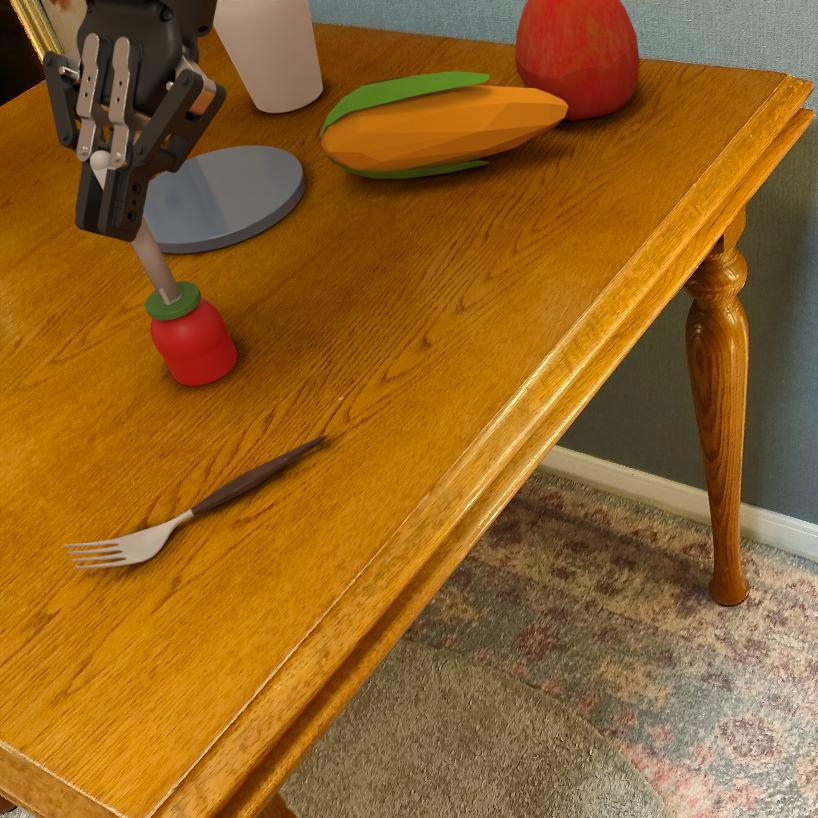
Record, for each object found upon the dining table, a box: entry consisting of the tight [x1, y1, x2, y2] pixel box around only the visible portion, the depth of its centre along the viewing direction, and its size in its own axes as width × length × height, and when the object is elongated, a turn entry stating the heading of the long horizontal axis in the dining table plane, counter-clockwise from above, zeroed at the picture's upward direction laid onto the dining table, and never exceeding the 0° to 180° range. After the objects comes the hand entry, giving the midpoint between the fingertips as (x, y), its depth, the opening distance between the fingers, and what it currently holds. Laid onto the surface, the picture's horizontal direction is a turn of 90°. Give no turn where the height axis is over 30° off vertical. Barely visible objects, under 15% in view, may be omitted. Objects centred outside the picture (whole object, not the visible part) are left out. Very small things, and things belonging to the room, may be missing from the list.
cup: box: [213, 0, 324, 114], centre depth 91 cm, size 9×9×12 cm
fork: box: [64, 435, 328, 570], centre depth 59 cm, size 3×16×2 cm, turn 125°
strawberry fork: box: [90, 151, 239, 387], centre depth 63 cm, size 5×5×16 cm
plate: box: [143, 144, 307, 255], centre depth 84 cm, size 15×15×1 cm
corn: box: [319, 70, 568, 180], centre depth 79 cm, size 7×8×20 cm
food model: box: [40, 0, 151, 146], centre depth 87 cm, size 10×7×20 cm
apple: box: [514, 0, 641, 121], centre depth 82 cm, size 10×10×10 cm
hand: (104, 234), depth 59 cm, fingers closed on strawberry fork, 1 cm apart
